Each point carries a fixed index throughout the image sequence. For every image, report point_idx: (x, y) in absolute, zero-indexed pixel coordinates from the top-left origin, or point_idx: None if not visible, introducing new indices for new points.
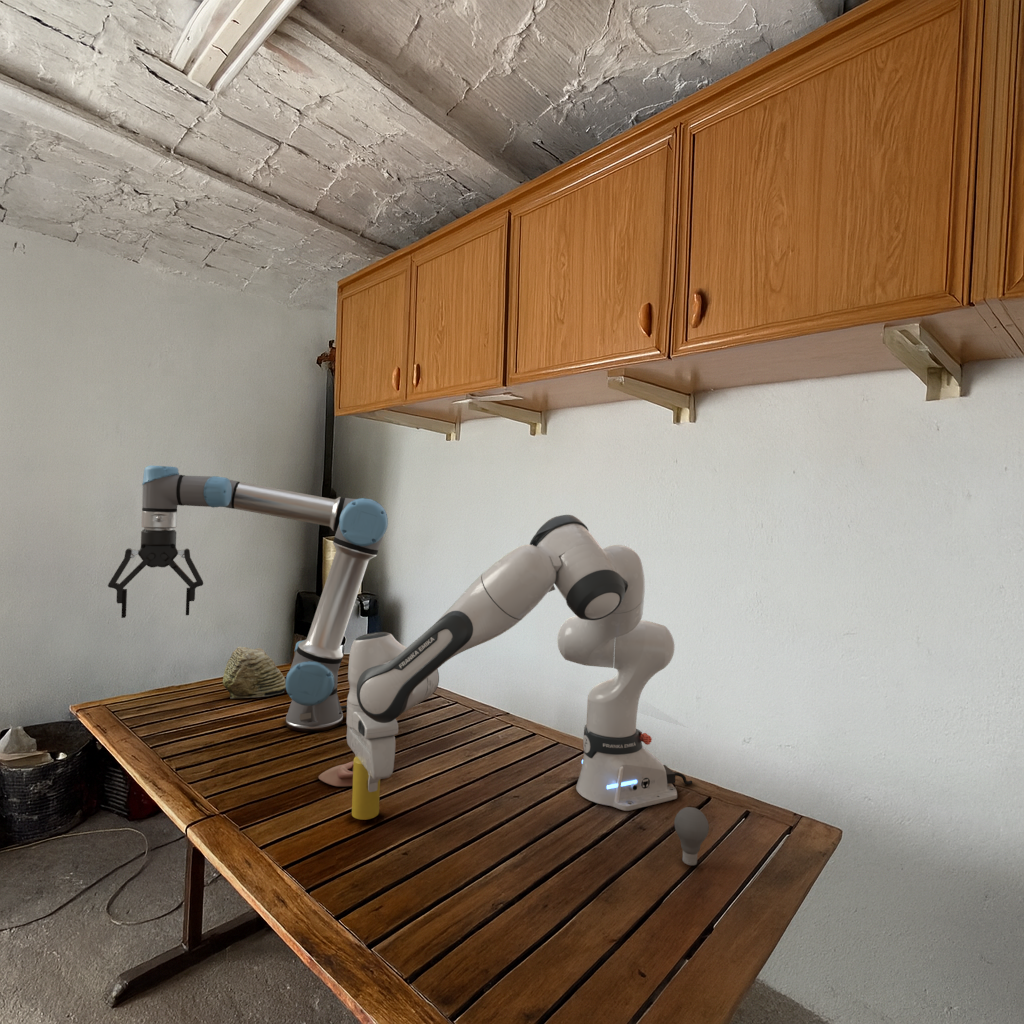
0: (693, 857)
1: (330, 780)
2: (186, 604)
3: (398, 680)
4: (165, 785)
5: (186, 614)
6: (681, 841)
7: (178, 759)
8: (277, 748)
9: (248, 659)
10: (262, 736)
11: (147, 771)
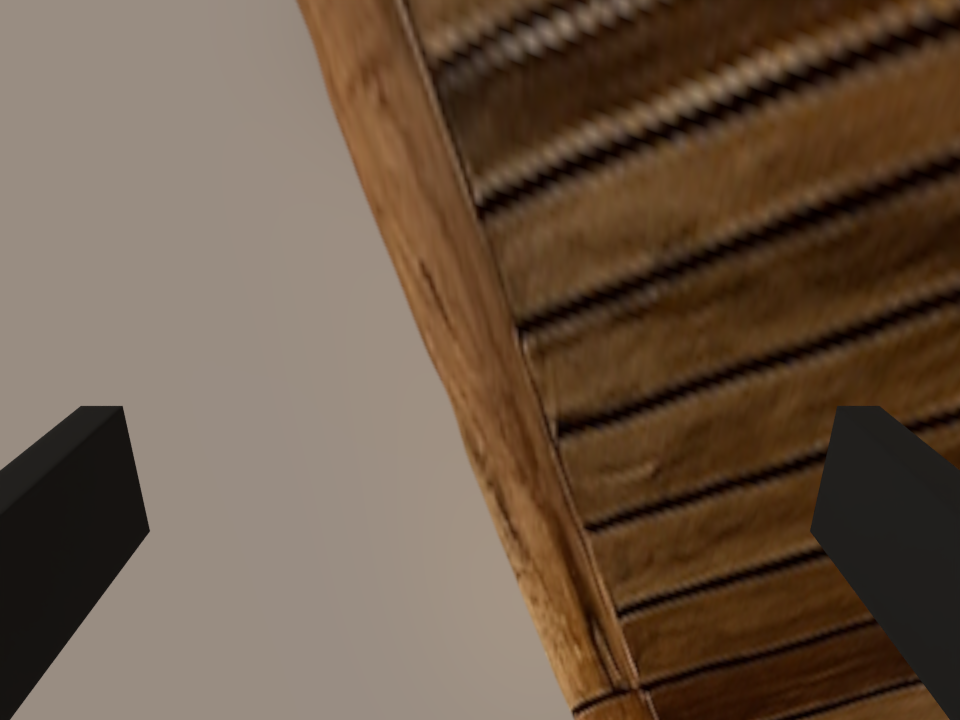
0: None
1: None
2: (893, 635)
3: None
4: (528, 521)
5: (824, 537)
6: None
7: (566, 355)
8: (880, 371)
9: None
10: (872, 236)
11: (477, 416)
